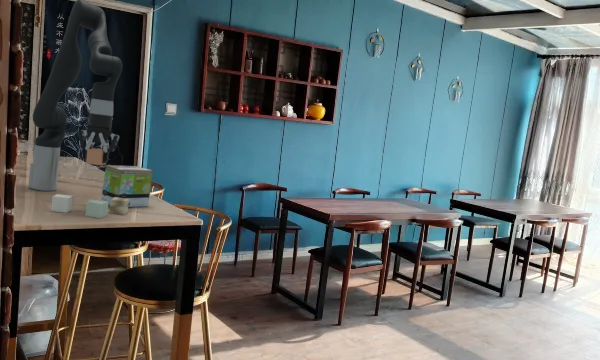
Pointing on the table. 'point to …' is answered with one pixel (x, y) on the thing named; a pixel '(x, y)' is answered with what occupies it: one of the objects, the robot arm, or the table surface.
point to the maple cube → (119, 205)
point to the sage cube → (96, 208)
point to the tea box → (127, 184)
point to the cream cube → (61, 203)
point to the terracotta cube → (95, 156)
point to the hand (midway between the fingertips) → (96, 161)
